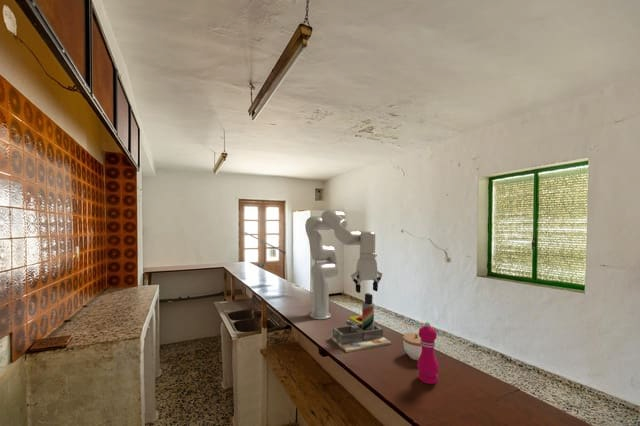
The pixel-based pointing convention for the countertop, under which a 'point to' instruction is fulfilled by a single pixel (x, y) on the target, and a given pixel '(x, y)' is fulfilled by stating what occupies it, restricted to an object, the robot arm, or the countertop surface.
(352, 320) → the emergency button
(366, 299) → the lotion bottle
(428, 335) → the pepper mill
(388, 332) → the countertop surface
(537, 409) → the countertop surface
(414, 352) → the lidded jar
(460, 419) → the countertop surface
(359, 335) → the socket board
